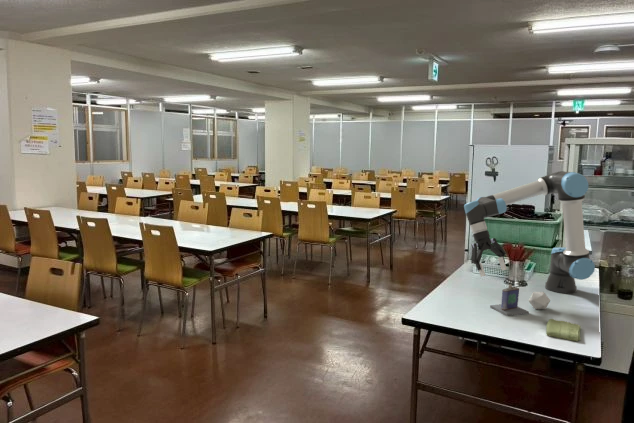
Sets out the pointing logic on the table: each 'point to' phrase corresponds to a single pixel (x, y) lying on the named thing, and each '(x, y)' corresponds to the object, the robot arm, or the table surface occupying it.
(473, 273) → the table surface
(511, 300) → the flask
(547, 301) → the die
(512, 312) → the mat
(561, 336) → the washcloth
